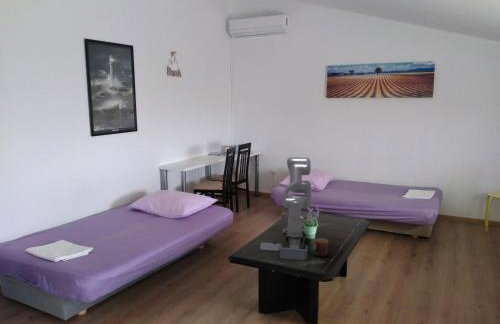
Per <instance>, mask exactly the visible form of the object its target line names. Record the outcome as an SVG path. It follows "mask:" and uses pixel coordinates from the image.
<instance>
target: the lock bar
mask: <svg viewBox="0 0 500 324" xmlns="http://www.w3.org/2000/svg"><path fill="white" fill-rule="evenodd" d="M280 244H281V243H277V241H273V243H272V242H260V249H261V250H273V251H272V252H274V251H279V247H280Z"/></svg>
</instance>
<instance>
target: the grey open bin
mask: <svg viewBox="0 0 500 324" xmlns="http://www.w3.org/2000/svg"><path fill="white" fill-rule="evenodd" d="M279 244H280V247H279V252H278V259H279V260H291V261H292V260H293V261H308V260H307V259H308V245H305V248H299V249H293V248H290V247H283V243H279Z"/></svg>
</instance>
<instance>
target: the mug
mask: <svg viewBox="0 0 500 324" xmlns="http://www.w3.org/2000/svg"><path fill="white" fill-rule="evenodd" d="M314 244H315V248H313V245H314ZM328 245H329V240H328V239H327V238H322V237H320V238H316V239H315V240H314V241H312V242H311V243H310V248H311V250H312V251H313V252H315V255H316V256H317V257H319V258H325V257H326V256H327V255H328Z"/></svg>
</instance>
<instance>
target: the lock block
mask: <svg viewBox="0 0 500 324" xmlns="http://www.w3.org/2000/svg"><path fill="white" fill-rule="evenodd" d="M289 241H290V242H289V248H293V249H300V239H292V238H291V239H289Z"/></svg>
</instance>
